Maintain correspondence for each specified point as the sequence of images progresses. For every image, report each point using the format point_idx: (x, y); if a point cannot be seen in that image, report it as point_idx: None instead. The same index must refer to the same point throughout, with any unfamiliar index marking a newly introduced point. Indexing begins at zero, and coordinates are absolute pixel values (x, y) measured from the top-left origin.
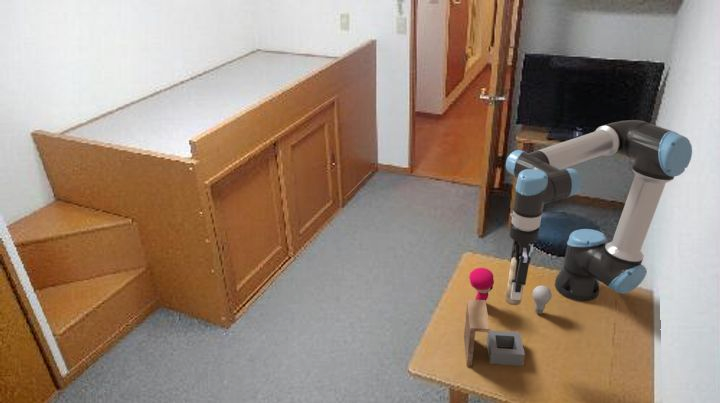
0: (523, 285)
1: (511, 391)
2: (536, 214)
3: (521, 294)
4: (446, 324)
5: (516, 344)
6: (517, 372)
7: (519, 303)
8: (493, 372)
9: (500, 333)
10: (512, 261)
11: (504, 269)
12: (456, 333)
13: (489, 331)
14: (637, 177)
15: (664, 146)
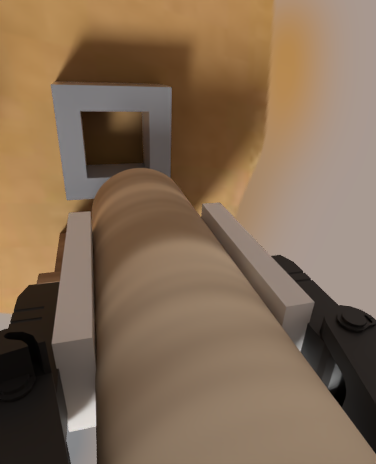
0: (186, 226)
1: (251, 132)
2: None
3: (183, 200)
4: (20, 290)
5: (124, 109)
6: (188, 105)
7: (173, 181)
8: (191, 172)
9: (74, 159)
10: None
11: None
12: (53, 264)
13: (71, 195)
14: None
15: None
